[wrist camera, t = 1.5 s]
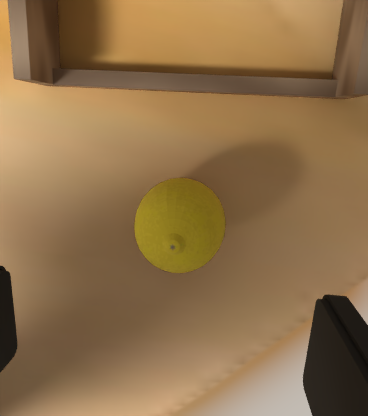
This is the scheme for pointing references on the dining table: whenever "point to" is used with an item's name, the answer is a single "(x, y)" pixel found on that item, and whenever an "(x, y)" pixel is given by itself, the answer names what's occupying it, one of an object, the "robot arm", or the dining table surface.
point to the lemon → (179, 225)
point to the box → (200, 83)
